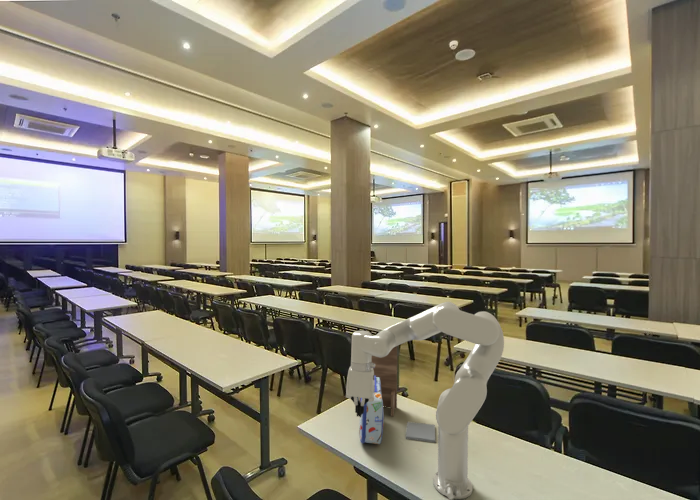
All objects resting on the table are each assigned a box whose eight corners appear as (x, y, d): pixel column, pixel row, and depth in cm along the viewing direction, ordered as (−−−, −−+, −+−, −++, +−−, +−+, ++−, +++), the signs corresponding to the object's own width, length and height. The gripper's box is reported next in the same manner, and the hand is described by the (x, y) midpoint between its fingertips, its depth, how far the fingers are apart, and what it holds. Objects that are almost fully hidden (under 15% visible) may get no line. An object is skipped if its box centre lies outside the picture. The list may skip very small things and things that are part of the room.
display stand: (395, 416, 156) (395, 350, 156) (357, 412, 160) (358, 347, 160) (396, 407, 166) (397, 344, 165) (361, 403, 170) (361, 342, 169)
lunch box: (358, 415, 157) (359, 368, 157) (380, 415, 157) (380, 369, 157) (359, 450, 130) (359, 394, 130) (385, 451, 130) (386, 394, 130)
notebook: (435, 444, 136) (435, 440, 136) (405, 440, 138) (405, 436, 138) (434, 428, 147) (434, 424, 147) (407, 425, 150) (407, 421, 150)
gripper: (382, 364, 124) (381, 412, 124) (343, 359, 127) (342, 407, 128) (379, 371, 117) (378, 423, 117) (338, 366, 120) (337, 417, 120)
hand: (359, 414), depth 122 cm, fingers closed
